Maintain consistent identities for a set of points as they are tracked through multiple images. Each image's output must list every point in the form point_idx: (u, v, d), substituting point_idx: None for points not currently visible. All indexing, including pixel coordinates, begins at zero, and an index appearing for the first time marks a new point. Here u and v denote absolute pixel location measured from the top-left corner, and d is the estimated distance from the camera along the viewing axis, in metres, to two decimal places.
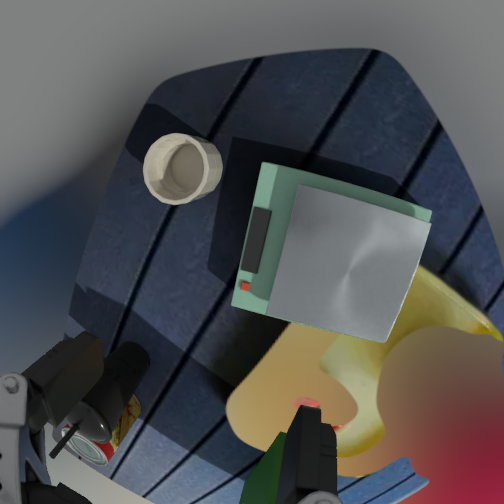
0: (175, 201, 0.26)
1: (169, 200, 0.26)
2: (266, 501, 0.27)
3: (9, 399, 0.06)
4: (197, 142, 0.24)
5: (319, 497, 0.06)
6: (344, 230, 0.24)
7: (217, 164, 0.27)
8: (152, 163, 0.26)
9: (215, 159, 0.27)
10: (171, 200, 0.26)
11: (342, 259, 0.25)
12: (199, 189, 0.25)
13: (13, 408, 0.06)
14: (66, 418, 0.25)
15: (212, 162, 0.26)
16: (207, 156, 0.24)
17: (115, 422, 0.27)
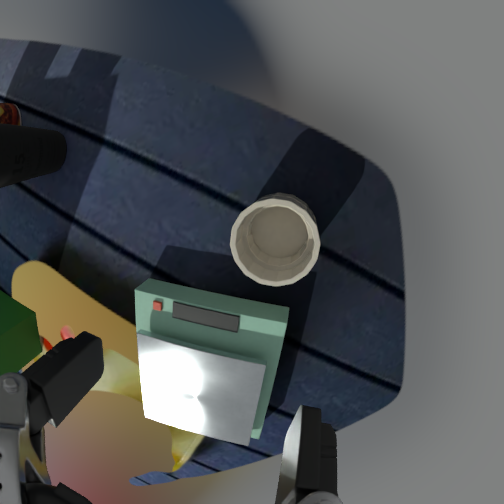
0: (234, 245, 0.22)
1: (234, 238, 0.22)
2: None
3: (9, 399, 0.06)
4: (306, 272, 0.21)
5: (319, 497, 0.06)
6: (229, 395, 0.26)
7: None
8: None
9: None
10: (235, 240, 0.22)
11: (204, 393, 0.27)
12: (251, 275, 0.22)
13: (13, 408, 0.06)
14: None
15: None
16: None
17: None
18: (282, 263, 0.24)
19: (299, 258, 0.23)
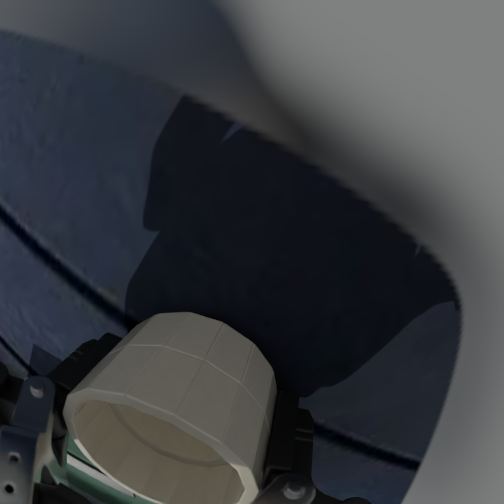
0: (78, 437, 0.07)
1: (72, 430, 0.07)
2: None
3: (34, 403, 0.06)
4: None
5: (290, 478, 0.06)
6: None
7: None
8: None
9: None
10: (75, 432, 0.07)
11: None
12: (120, 484, 0.08)
13: (42, 412, 0.06)
14: None
15: None
16: None
17: None
18: (194, 451, 0.10)
19: None
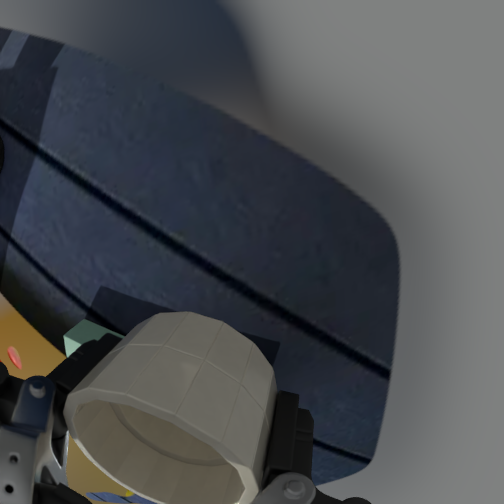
0: (79, 437, 0.07)
1: (73, 429, 0.07)
2: None
3: (34, 403, 0.06)
4: None
5: (290, 478, 0.06)
6: None
7: None
8: None
9: None
10: (75, 432, 0.07)
11: None
12: (121, 483, 0.08)
13: (42, 412, 0.06)
14: None
15: None
16: None
17: None
18: (194, 451, 0.10)
19: None
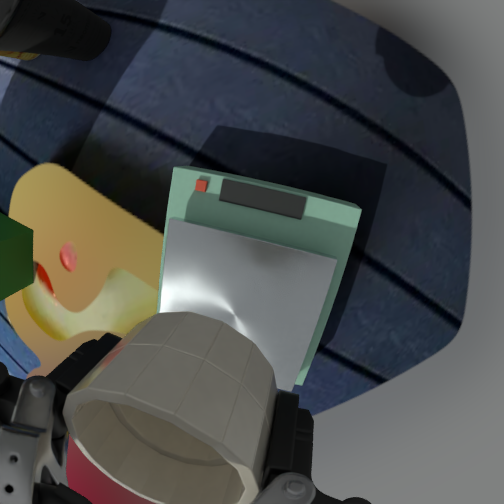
0: (78, 437, 0.07)
1: (72, 429, 0.07)
2: None
3: (34, 403, 0.06)
4: None
5: (290, 478, 0.06)
6: (281, 309, 0.22)
7: None
8: None
9: None
10: (75, 432, 0.07)
11: (247, 307, 0.22)
12: (120, 484, 0.08)
13: (42, 412, 0.06)
14: None
15: None
16: None
17: None
18: (194, 451, 0.10)
19: None
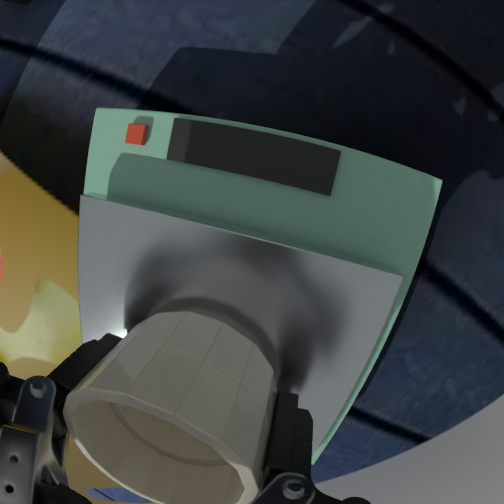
0: (78, 437, 0.07)
1: (72, 429, 0.07)
2: None
3: (34, 403, 0.06)
4: None
5: (290, 477, 0.06)
6: (288, 369, 0.11)
7: None
8: None
9: None
10: (75, 432, 0.07)
11: None
12: (120, 483, 0.08)
13: (42, 412, 0.06)
14: None
15: None
16: None
17: None
18: (193, 451, 0.10)
19: None
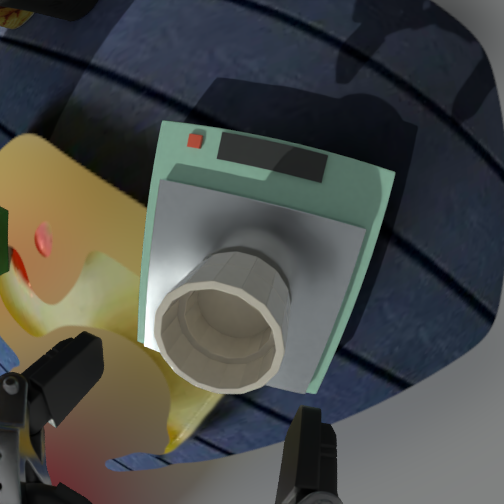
0: (160, 335, 0.14)
1: (159, 327, 0.14)
2: None
3: (9, 399, 0.06)
4: (262, 384, 0.14)
5: (319, 497, 0.06)
6: (297, 292, 0.17)
7: None
8: None
9: None
10: (160, 329, 0.14)
11: None
12: (183, 376, 0.14)
13: (13, 408, 0.06)
14: None
15: None
16: None
17: None
18: (234, 354, 0.17)
19: (257, 352, 0.16)
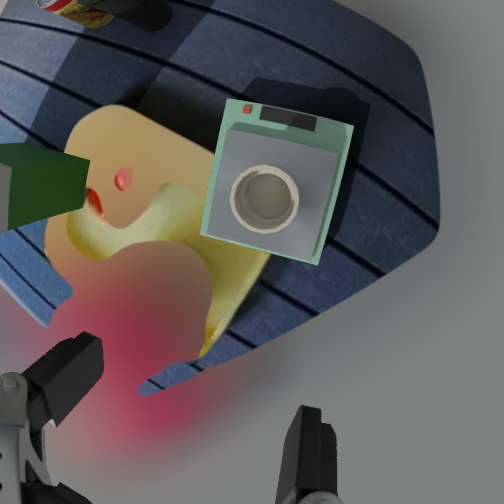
0: (233, 199, 0.28)
1: (234, 193, 0.28)
2: (27, 164, 0.27)
3: (9, 399, 0.06)
4: (287, 224, 0.28)
5: (319, 497, 0.06)
6: (303, 189, 0.31)
7: None
8: None
9: None
10: (234, 195, 0.28)
11: None
12: (244, 224, 0.28)
13: (13, 408, 0.06)
14: None
15: None
16: None
17: (101, 7, 0.21)
18: (269, 219, 0.30)
19: (283, 215, 0.30)
